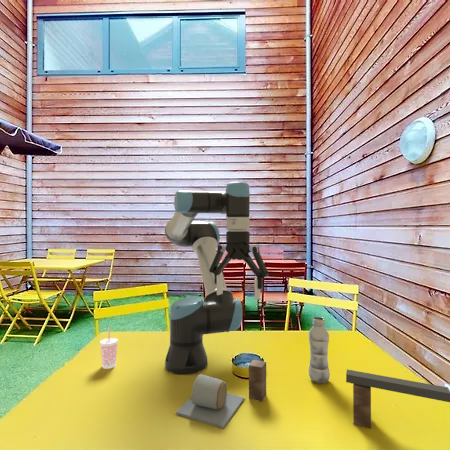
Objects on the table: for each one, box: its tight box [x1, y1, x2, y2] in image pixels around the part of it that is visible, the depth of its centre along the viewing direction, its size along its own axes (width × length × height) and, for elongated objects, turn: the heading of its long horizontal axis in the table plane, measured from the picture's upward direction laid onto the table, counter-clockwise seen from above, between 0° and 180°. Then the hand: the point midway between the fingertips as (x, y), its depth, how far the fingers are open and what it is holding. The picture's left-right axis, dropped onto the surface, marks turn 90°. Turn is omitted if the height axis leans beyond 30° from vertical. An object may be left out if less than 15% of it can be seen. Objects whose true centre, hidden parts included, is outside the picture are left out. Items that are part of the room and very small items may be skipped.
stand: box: [248, 359, 372, 429], centre depth 85 cm, size 32×4×10 cm, turn 65°
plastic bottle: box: [307, 316, 331, 384], centre depth 100 cm, size 6×7×20 cm
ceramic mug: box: [190, 373, 228, 409], centre depth 86 cm, size 11×8×8 cm
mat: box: [175, 392, 245, 429], centre depth 86 cm, size 14×14×1 cm
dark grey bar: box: [345, 368, 450, 403], centre depth 76 cm, size 22×3×2 cm, turn 65°
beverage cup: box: [99, 326, 119, 370], centre depth 111 cm, size 6×6×14 cm
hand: (237, 296), depth 100 cm, fingers open, 13 cm apart
